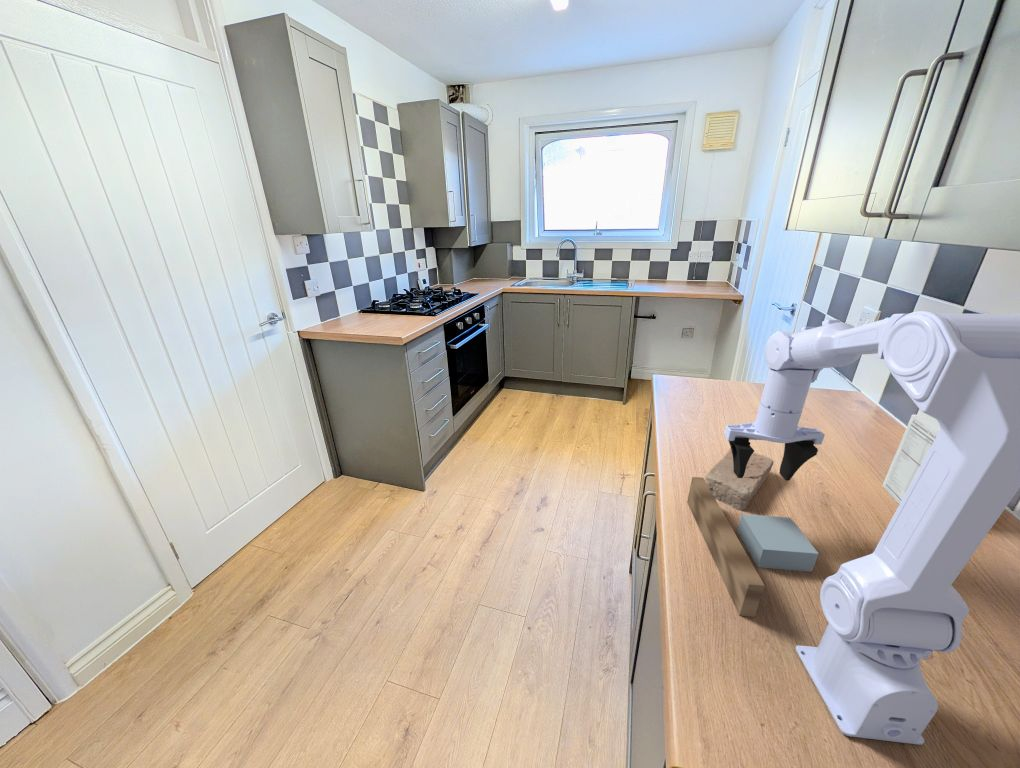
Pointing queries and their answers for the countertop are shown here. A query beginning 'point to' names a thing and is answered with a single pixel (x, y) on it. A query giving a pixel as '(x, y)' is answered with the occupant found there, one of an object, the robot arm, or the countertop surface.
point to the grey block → (776, 543)
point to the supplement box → (910, 454)
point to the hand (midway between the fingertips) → (760, 475)
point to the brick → (738, 480)
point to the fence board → (725, 549)
